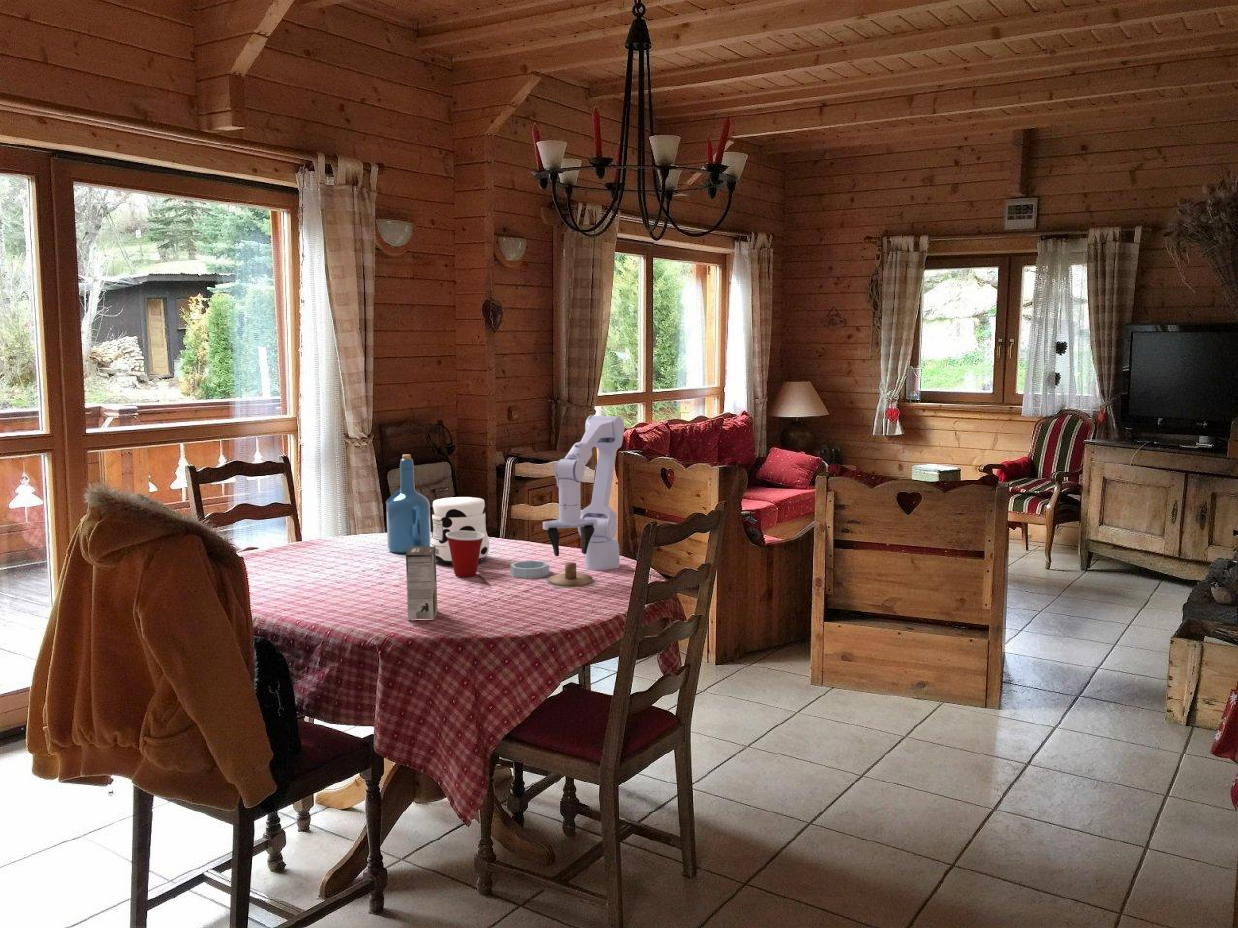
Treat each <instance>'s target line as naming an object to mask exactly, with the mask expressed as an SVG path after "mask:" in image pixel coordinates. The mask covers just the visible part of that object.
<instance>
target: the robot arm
mask: <svg viewBox="0 0 1238 928" xmlns="http://www.w3.org/2000/svg"><path fill="white" fill-rule="evenodd" d="M623 420H624V419H622V417H621V416H619V415H615V416H612V415H611V416H610V415H607V416H606V415H605V416H604V415H592V414H590V415H589V416H587V418H586V420H585V424H584V425H585V426H584V429H585V432H584V434H583V436H582V438H581V440H580V441H578V442H575V443H574V444H573V445H572V446H571V448H570V450H569V451H568V453H567V454H566V455H565V457H564V458H560V459H559V460H558V461H557V462H556V463H555V466H554V477H555V479H556V486H557V488H558V509H559V510H558V515H559V516H558V519H554V520H553V519H552V520H548V521H546V520H545V521H542V529H543V530H545V532H546V534H547V536H548V538H549V540H550V542H551V543H550V544H551V545H552V546H551V547H552V549H553V553H554V554H553V555H554V556H555V557H560V546H559V545H560V544H559V543H560V534H561V532H560V531H559V530H558V529H570V528H571V529H572V528H573V529H574V528H577V530H578V531H577V532H578V534H579V536H580V538H581V548H580V549H581V550H580V551H581V553H582V554H583V555H584V568H585V569H586V570H590V571H605V570H611V569H620V544H619V541H618V539H617V538H614V537H615V536H616V534H617V529H618V528H617V527H618V526H617V525H618V524H617V517H618V516H617V513H616V512H615V511H614V510H613V509H612V508H611V507H610V506H609V505H610V498H611V492H612V491H611V490H612V485H613V484H612V483H613V477H614V471H615V464H616V456H617V450H618V449H620V448H621V447H622V445H623V440H624V434H625V424H624V421H623ZM594 447H595V448H597V450H598V457H597V464H596V470H595V474H594V484H593V490H592V496H591V502H590V504H589V505H588V506H586V507H585V508H583V509H582V508H581V507H582V505H581V504H582V503H581V500H582V499H581V498H582V497H581V495H582V494H581V481H582V480H583V479H584V475H585V471H586V469H587V468H586V465H587V464H588V463H589V461H590V460H591V457H592V456H593V451H592V449H593V448H594ZM581 510H582V511H581Z"/></svg>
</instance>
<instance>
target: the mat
mask: <svg viewBox="0 0 1238 928" xmlns="http://www.w3.org/2000/svg"><path fill="white" fill-rule="evenodd" d="M542 578H543V580H544V581H546V582H547V583H548V584H549V585H551V586H552V587H553V588H554V589H565V588H566V589H568V588H569V587H567V586H557V585H553V584H551V583H549V578H550V577H542ZM597 585H600V584H599V582H597V581H595V580H594V579H593V578H592V582H591V583H590V584H587V585H582V586H581V587H588V586H589V587H590V586H597ZM575 587H576V588H577V587H580V586H571V587H570V588H575Z"/></svg>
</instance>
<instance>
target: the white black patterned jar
mask: <svg viewBox="0 0 1238 928" xmlns="http://www.w3.org/2000/svg"><path fill="white" fill-rule="evenodd" d="M486 515H487V514H486V503H485V499H483V498H481V497H474V496H473V497H472V496H455V497H453V496H451V497H444V498H438V499H435V500H433V502H432V515H431V516H432V517H431V518H432V534H431V542H430V547H435V553H436V562H440V563H443V564H452V559H451V553H450V547H449V543H448V539H447V536H446V533H447V532H450V531H460V530H466V531H475V532H480V533H483V534H484V535H485V537H484V538H483V540H482V544H481V548H480V554H479V561H482V560H484V559H486V557H488V555H489V551H490V539H489V536H488V533H487V525H486ZM479 561H478V562H479ZM452 565H453V564H452Z"/></svg>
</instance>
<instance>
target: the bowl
mask: <svg viewBox="0 0 1238 928" xmlns="http://www.w3.org/2000/svg"><path fill="white" fill-rule="evenodd" d="M509 569H510V570H509V571H510V575H511V576H512V577H513V578H517V579H518V578H520V579H535V578H537V579H538V578H544V577H546V576H547V575H550V564H549V563H547V562H546V561H541V560H533V559H531V560H521V561H516V562H513V563H511V564H510V565H509Z"/></svg>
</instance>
